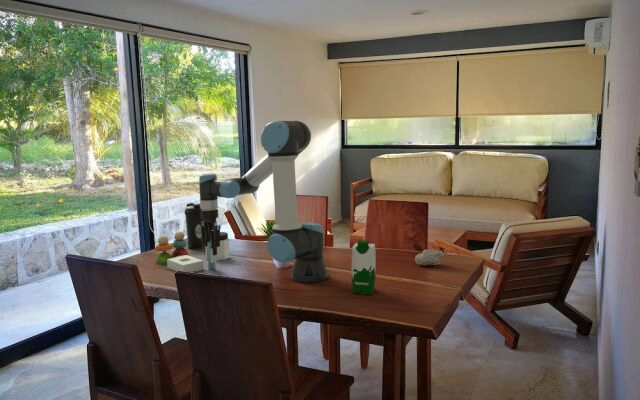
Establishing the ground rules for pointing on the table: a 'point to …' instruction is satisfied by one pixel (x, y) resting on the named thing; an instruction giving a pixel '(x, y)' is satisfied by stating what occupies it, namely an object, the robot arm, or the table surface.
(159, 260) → the colourful stacking toy
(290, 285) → the table surface
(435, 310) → the table surface
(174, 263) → the socket block
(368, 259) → the milk carton
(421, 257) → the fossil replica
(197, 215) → the water bottle
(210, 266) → the peg
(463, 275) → the table surface
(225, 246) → the jar
